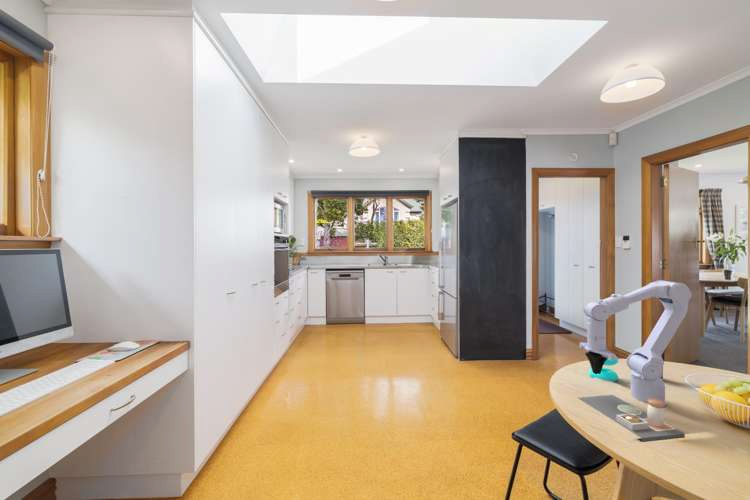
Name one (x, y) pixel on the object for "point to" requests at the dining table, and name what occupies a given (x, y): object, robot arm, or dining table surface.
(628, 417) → the button
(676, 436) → the board
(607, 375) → the donuts
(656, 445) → the dining table surface
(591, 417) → the dining table surface
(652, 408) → the white cylinder
